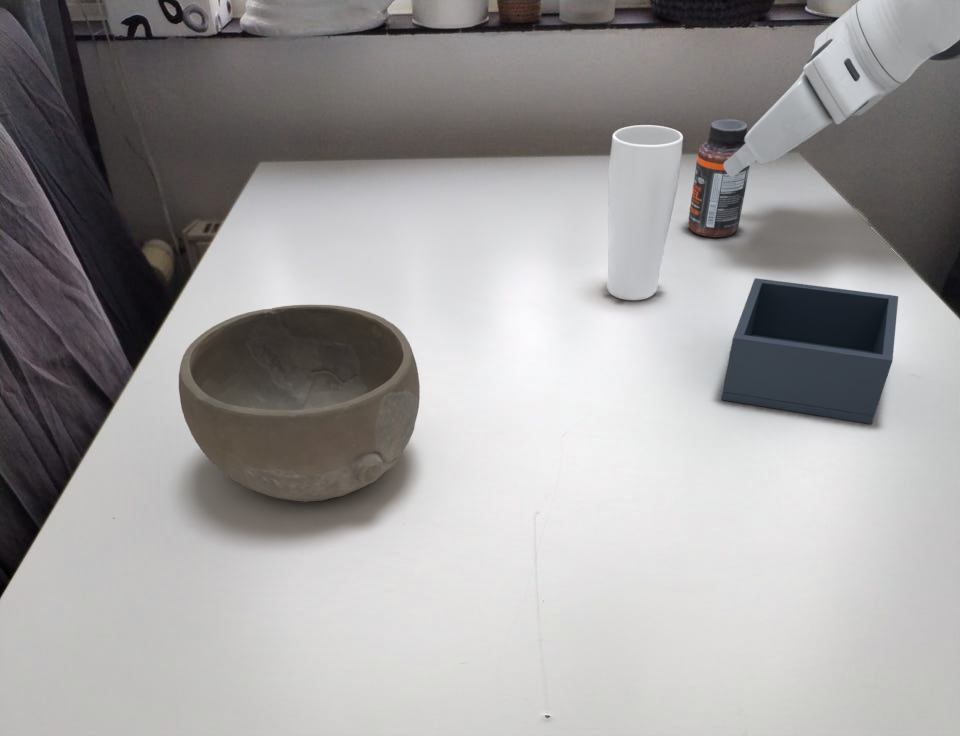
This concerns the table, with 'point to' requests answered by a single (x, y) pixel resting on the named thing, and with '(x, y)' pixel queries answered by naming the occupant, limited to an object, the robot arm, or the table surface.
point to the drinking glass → (640, 206)
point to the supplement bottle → (718, 182)
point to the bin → (812, 350)
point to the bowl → (301, 399)
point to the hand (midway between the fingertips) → (740, 156)
